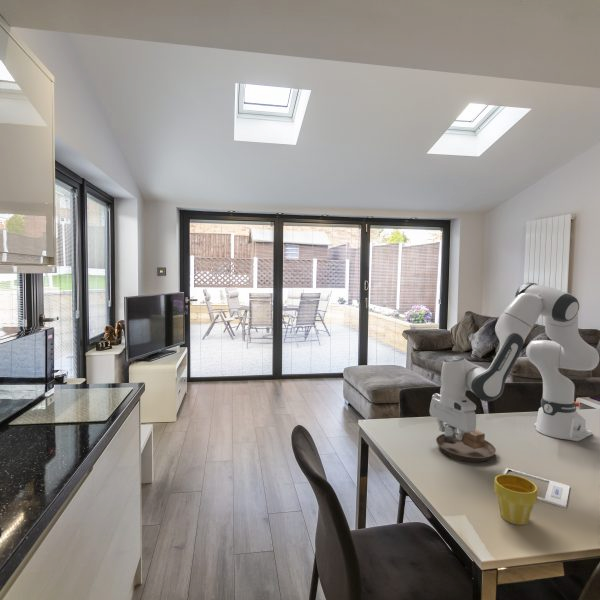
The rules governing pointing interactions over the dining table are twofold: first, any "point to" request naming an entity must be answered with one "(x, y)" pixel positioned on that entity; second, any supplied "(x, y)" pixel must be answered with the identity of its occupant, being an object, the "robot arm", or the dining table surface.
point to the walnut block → (474, 439)
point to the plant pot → (515, 497)
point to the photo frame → (551, 491)
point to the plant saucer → (466, 450)
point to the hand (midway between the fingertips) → (450, 435)
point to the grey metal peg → (450, 434)
